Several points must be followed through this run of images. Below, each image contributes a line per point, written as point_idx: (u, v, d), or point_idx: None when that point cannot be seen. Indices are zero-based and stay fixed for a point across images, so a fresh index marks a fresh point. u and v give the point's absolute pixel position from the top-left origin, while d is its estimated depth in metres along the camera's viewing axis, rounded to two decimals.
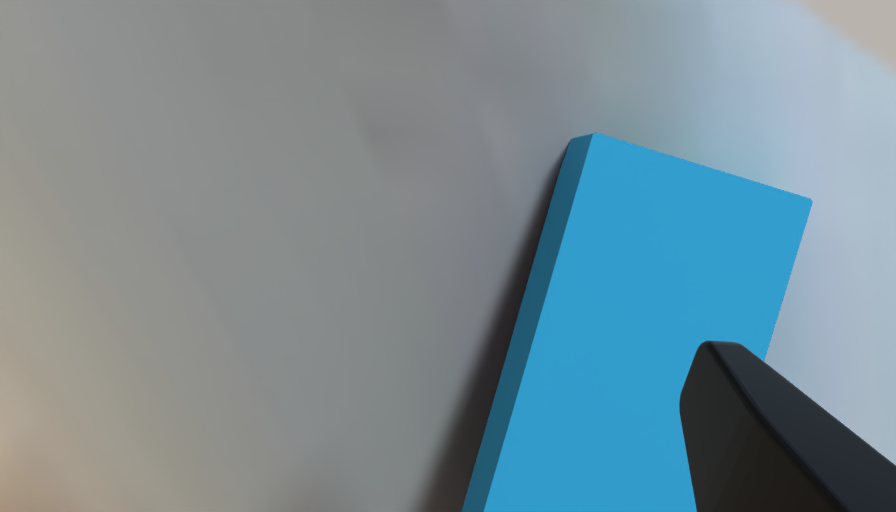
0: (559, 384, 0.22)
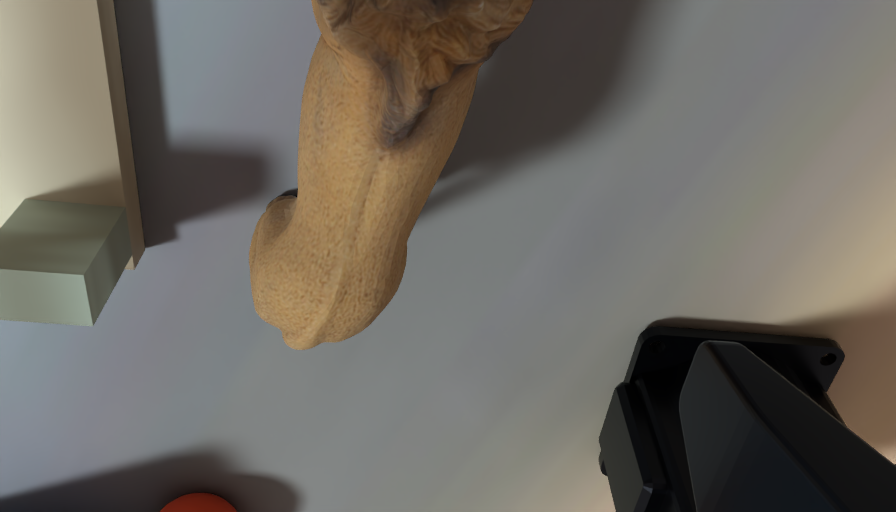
0: None
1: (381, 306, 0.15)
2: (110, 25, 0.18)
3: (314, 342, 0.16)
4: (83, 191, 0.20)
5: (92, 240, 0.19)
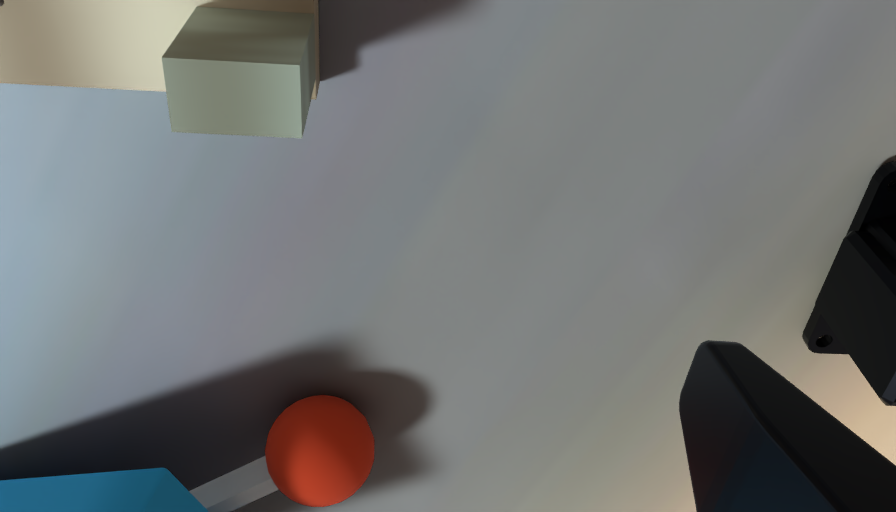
0: None
1: None
2: None
3: None
4: None
5: (293, 38, 0.16)
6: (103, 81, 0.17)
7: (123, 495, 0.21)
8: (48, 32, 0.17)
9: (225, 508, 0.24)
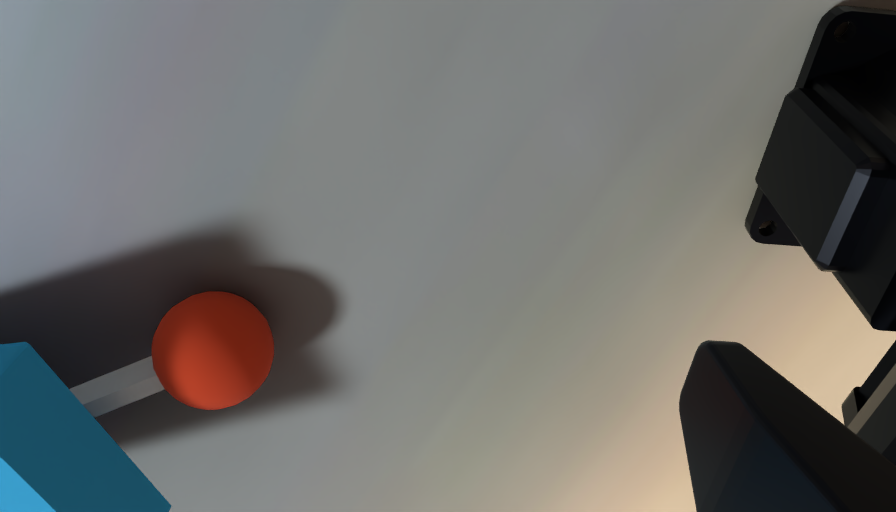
0: None
1: None
2: None
3: None
4: None
5: None
6: None
7: None
8: None
9: (105, 406, 0.22)
